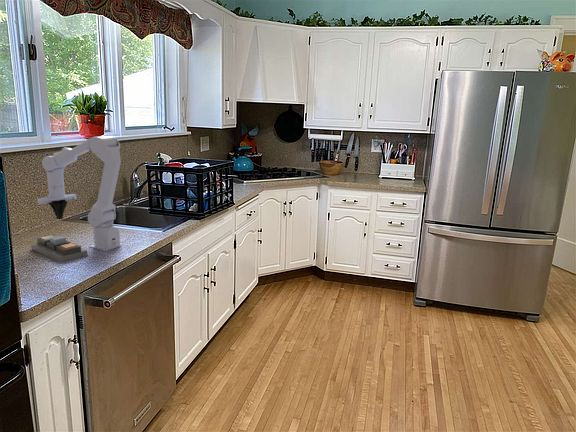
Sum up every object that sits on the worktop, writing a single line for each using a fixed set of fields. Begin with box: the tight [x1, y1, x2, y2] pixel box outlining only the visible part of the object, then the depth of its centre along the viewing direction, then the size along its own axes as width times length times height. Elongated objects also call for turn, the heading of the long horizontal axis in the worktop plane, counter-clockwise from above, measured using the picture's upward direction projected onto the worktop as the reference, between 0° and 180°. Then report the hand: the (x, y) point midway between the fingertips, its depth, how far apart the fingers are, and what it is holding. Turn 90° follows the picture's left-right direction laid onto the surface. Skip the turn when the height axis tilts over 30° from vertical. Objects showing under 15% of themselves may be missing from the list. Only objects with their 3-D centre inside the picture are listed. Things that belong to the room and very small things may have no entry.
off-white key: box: [40, 234, 55, 241], centre depth 163 cm, size 4×4×2 cm
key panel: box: [30, 234, 88, 263], centre depth 159 cm, size 22×10×4 cm, turn 54°
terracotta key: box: [60, 242, 78, 249], centre depth 155 cm, size 4×4×2 cm
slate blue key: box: [50, 235, 67, 245], centre depth 158 cm, size 4×4×2 cm
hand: (59, 218), depth 171 cm, fingers closed
